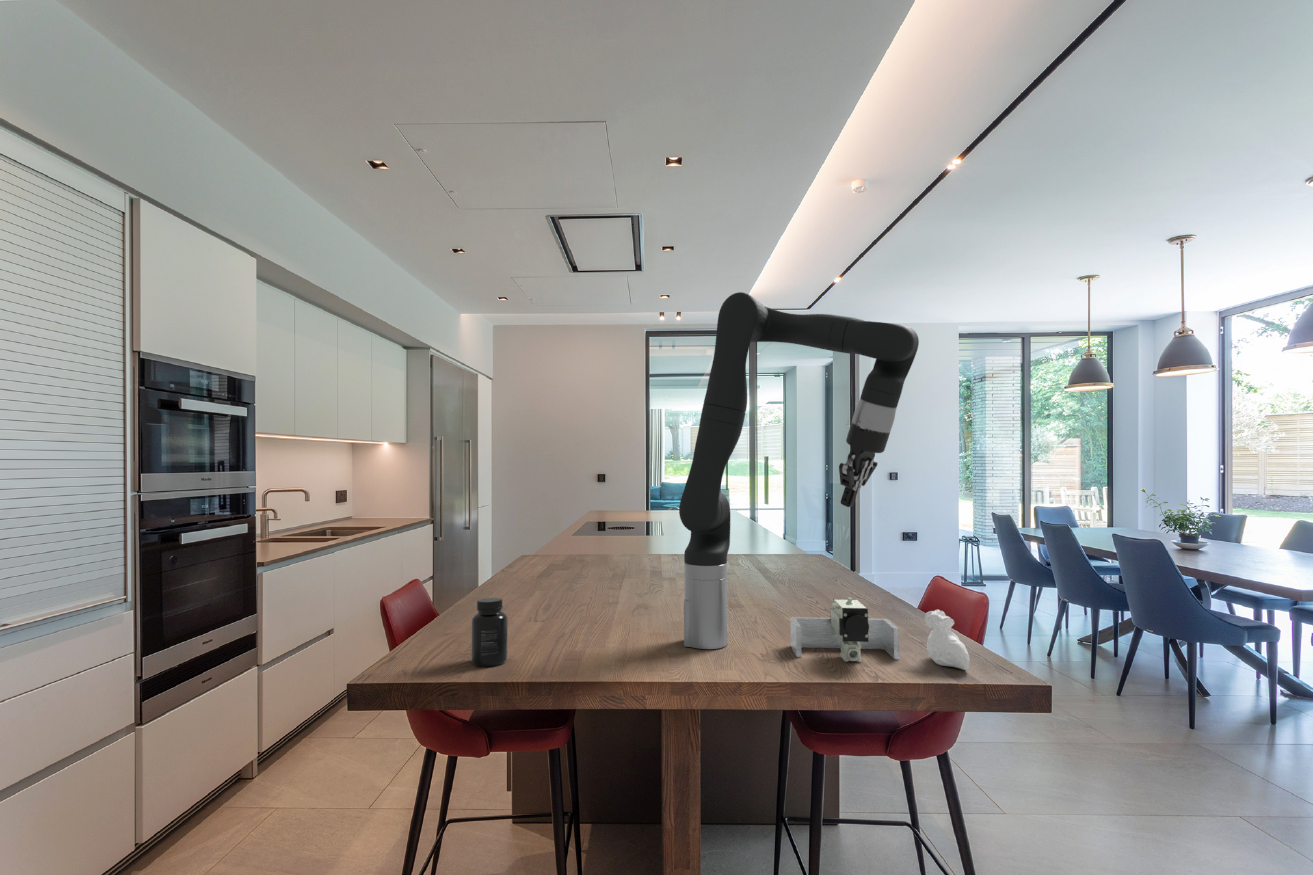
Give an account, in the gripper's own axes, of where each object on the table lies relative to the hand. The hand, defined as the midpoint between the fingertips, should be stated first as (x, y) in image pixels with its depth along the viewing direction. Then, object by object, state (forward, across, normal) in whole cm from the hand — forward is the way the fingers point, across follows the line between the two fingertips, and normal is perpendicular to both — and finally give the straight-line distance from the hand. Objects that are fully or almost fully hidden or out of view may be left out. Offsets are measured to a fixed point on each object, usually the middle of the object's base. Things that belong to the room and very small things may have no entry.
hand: (846, 505), depth 124 cm
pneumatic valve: (+27, +6, +12) cm, 30 cm away
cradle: (+29, +2, +9) cm, 30 cm away
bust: (+23, -4, +26) cm, 35 cm away
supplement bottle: (+41, +55, -36) cm, 78 cm away
